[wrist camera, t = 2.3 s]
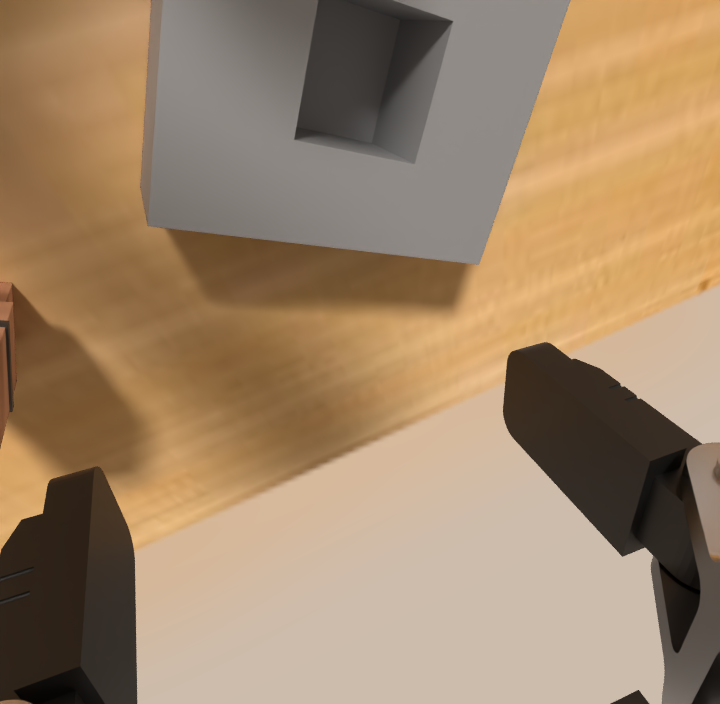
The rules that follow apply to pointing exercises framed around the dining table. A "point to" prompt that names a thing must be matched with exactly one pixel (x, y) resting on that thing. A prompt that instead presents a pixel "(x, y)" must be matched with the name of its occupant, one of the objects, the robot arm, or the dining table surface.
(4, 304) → the peg
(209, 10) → the mortise board
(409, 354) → the dining table surface
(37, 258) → the dining table surface
